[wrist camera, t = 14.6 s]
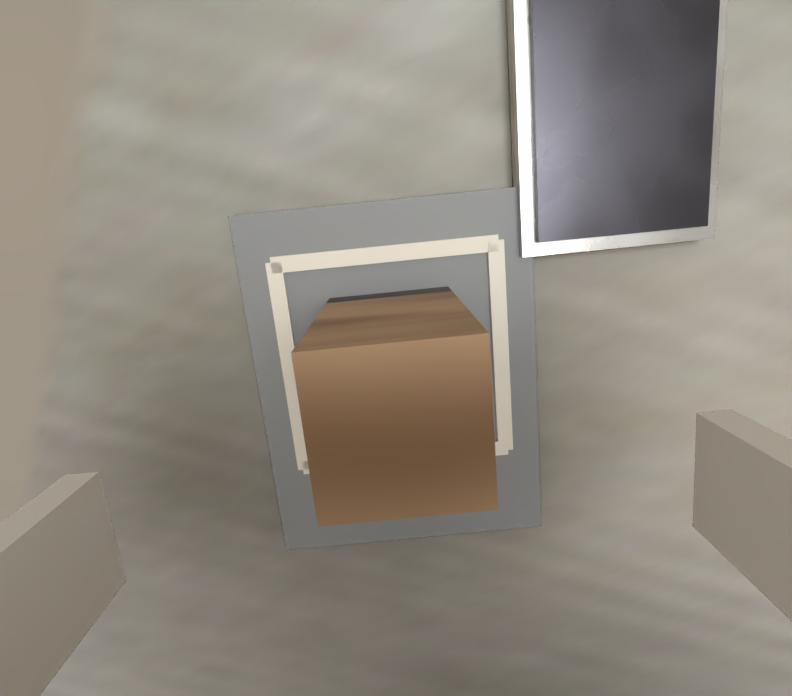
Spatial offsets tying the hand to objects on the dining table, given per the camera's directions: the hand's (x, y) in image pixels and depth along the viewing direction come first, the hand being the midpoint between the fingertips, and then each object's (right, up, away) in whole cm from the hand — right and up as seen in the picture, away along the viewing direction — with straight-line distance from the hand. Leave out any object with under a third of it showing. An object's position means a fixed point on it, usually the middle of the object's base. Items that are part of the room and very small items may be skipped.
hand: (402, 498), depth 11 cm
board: (0, +2, +9) cm, 10 cm away
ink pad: (+8, +12, +7) cm, 16 cm away
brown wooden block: (0, +3, +9) cm, 9 cm away
